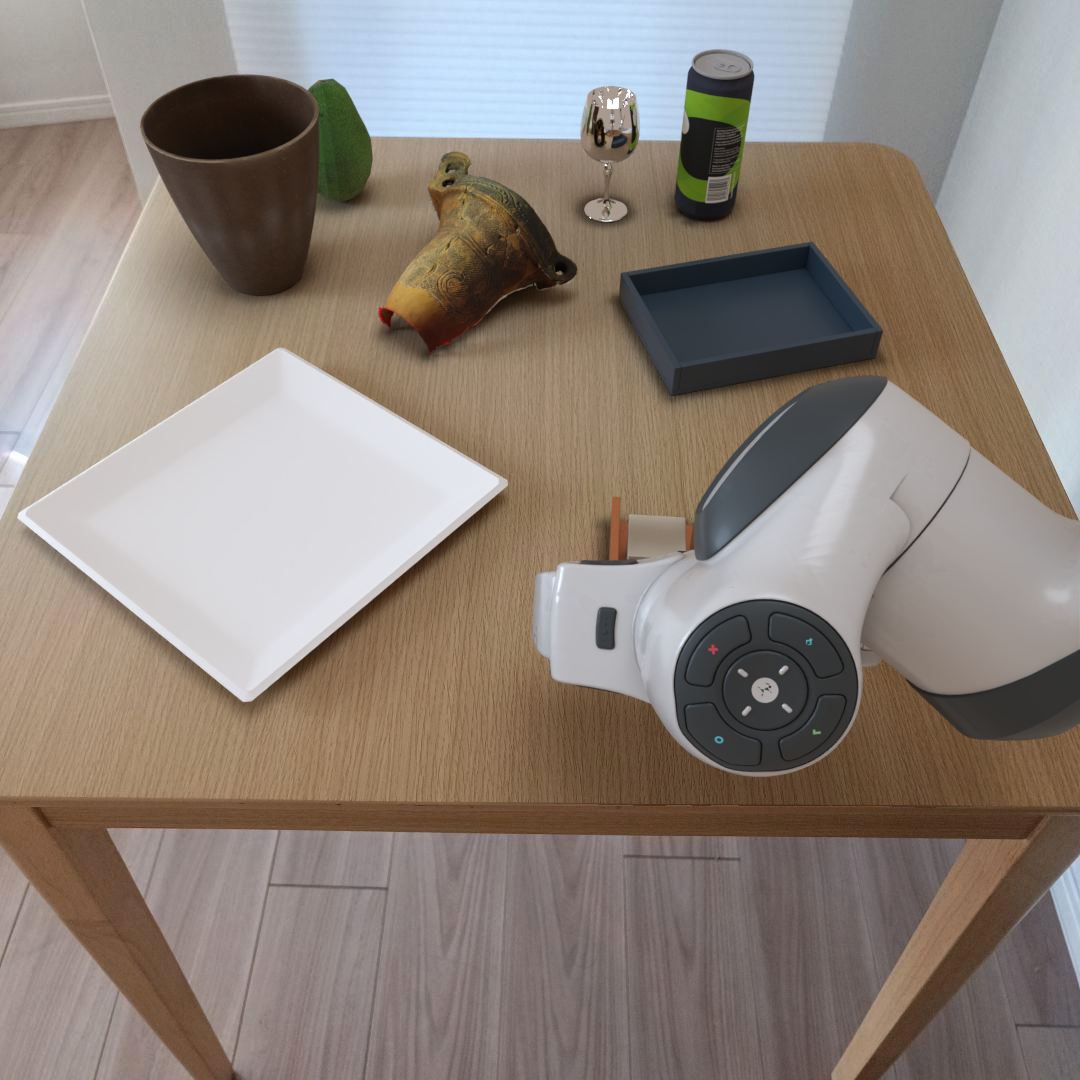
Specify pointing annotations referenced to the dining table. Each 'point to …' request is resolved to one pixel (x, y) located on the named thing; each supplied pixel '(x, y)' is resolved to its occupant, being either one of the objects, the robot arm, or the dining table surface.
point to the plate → (262, 516)
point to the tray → (747, 317)
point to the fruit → (340, 143)
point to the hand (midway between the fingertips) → (693, 603)
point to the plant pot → (241, 173)
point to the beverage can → (713, 133)
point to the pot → (473, 256)
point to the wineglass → (609, 141)
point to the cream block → (654, 536)
